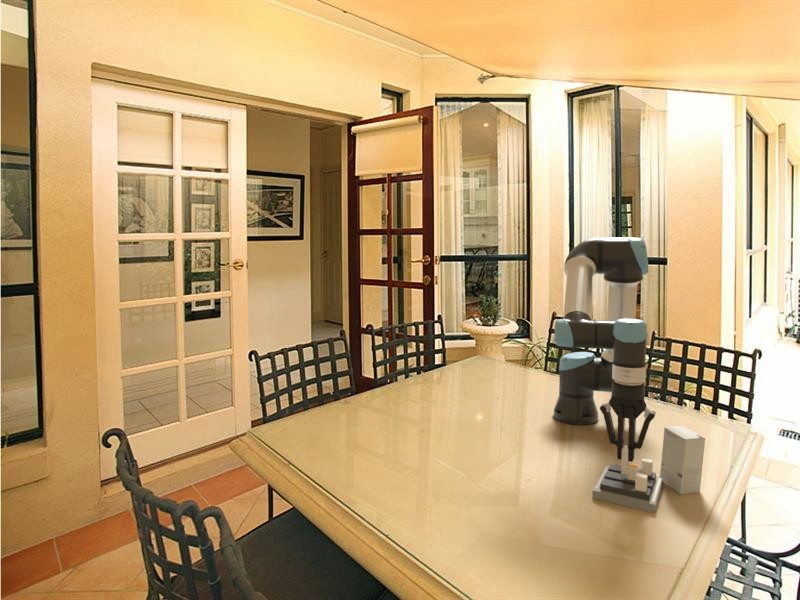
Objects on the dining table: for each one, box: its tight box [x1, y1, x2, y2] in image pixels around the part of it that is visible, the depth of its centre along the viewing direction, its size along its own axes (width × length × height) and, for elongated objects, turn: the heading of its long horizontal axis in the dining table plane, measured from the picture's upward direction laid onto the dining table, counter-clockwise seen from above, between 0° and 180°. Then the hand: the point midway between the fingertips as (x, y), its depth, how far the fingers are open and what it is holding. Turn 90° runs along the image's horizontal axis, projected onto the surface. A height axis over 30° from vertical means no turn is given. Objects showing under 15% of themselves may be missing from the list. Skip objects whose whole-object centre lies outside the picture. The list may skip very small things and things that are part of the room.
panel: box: [592, 463, 664, 514], centre depth 131 cm, size 14×16×4 cm
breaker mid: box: [627, 462, 640, 481], centre depth 130 cm, size 2×2×4 cm
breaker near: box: [635, 473, 648, 492], centre depth 125 cm, size 2×2×4 cm
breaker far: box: [640, 457, 654, 476], centre depth 133 cm, size 2×2×4 cm
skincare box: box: [659, 425, 706, 495], centre depth 133 cm, size 8×6×15 cm
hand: (625, 472), depth 131 cm, fingers closed
